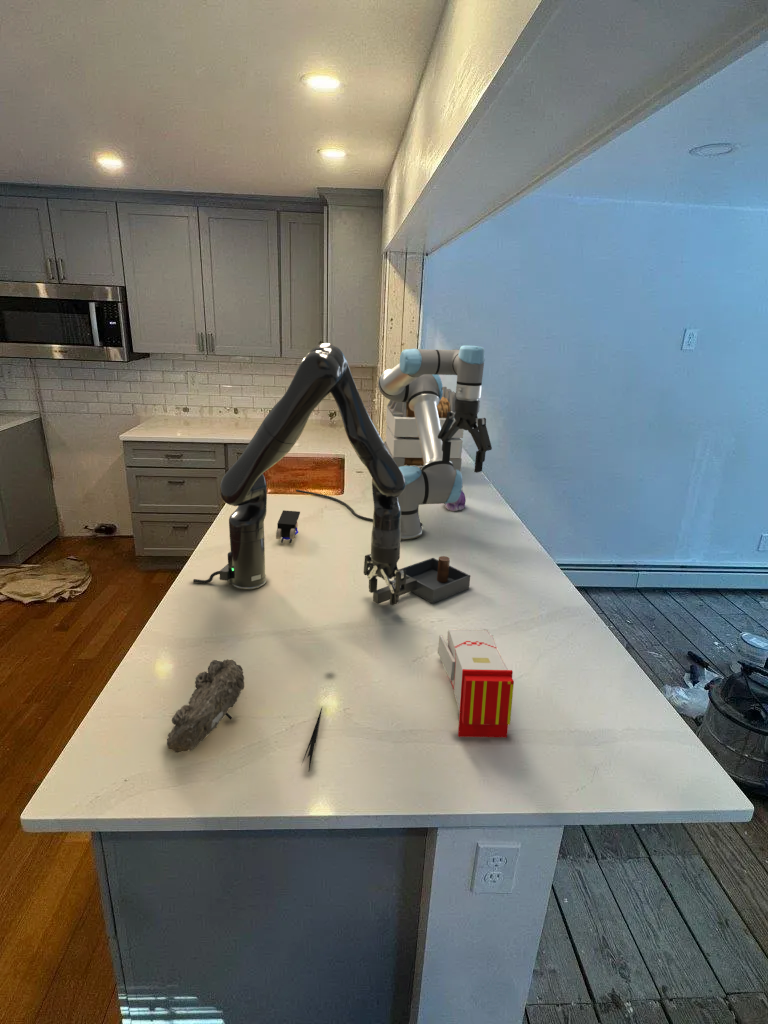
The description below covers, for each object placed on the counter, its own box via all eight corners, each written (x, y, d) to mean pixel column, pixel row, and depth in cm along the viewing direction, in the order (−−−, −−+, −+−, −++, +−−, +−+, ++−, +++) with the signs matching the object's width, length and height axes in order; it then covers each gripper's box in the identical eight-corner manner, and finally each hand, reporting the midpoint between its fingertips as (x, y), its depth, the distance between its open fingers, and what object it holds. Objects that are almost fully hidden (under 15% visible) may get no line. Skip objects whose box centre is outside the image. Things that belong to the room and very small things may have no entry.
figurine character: (295, 549, 186) (301, 528, 200) (295, 529, 183) (300, 509, 196) (275, 549, 186) (282, 527, 199) (274, 528, 183) (281, 508, 196)
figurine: (452, 513, 222) (455, 476, 217) (438, 505, 231) (441, 469, 226) (471, 510, 227) (475, 474, 221) (457, 502, 235) (460, 467, 230)
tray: (393, 619, 145) (394, 604, 143) (357, 596, 155) (357, 582, 154) (469, 588, 163) (470, 574, 161) (432, 569, 173) (433, 556, 172)
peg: (434, 579, 166) (436, 557, 163) (441, 576, 168) (443, 555, 166) (442, 583, 164) (444, 561, 161) (450, 580, 166) (452, 558, 163)
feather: (331, 679, 122) (336, 673, 122) (307, 777, 96) (313, 769, 95) (324, 675, 122) (329, 669, 121) (298, 772, 95) (304, 764, 95)
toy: (488, 613, 130) (523, 677, 101) (484, 667, 133) (517, 744, 104) (435, 612, 130) (455, 676, 101) (432, 666, 133) (451, 743, 103)
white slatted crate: (382, 463, 289) (386, 382, 275) (445, 464, 293) (451, 384, 279) (390, 482, 257) (394, 392, 243) (460, 483, 261) (468, 394, 247)
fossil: (192, 660, 117) (244, 628, 112) (224, 691, 120) (276, 661, 115) (142, 746, 98) (202, 712, 93) (182, 779, 101) (242, 748, 96)
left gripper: (357, 536, 148) (355, 591, 154) (393, 554, 138) (390, 613, 144) (379, 530, 153) (376, 584, 158) (415, 547, 143) (411, 604, 148)
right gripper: (429, 393, 178) (425, 459, 185) (492, 406, 160) (484, 478, 167) (446, 392, 183) (441, 456, 190) (508, 404, 165) (500, 474, 172)
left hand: (383, 597), depth 151 cm, fingers open, 8 cm apart
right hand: (461, 466), depth 179 cm, fingers open, 13 cm apart
